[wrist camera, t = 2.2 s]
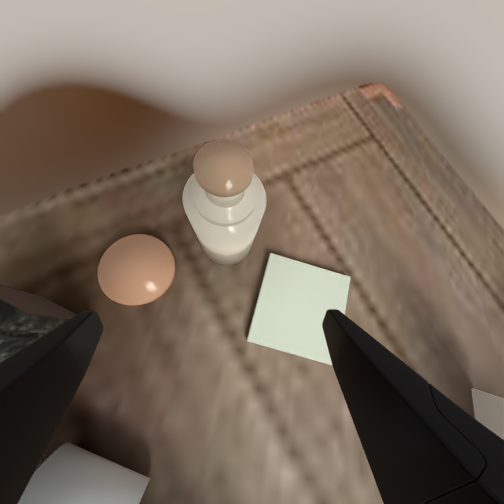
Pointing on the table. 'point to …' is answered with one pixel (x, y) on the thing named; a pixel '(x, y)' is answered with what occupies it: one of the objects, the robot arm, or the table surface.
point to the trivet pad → (296, 307)
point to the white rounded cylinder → (83, 480)
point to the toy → (26, 319)
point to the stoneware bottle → (224, 201)
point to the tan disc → (136, 270)
